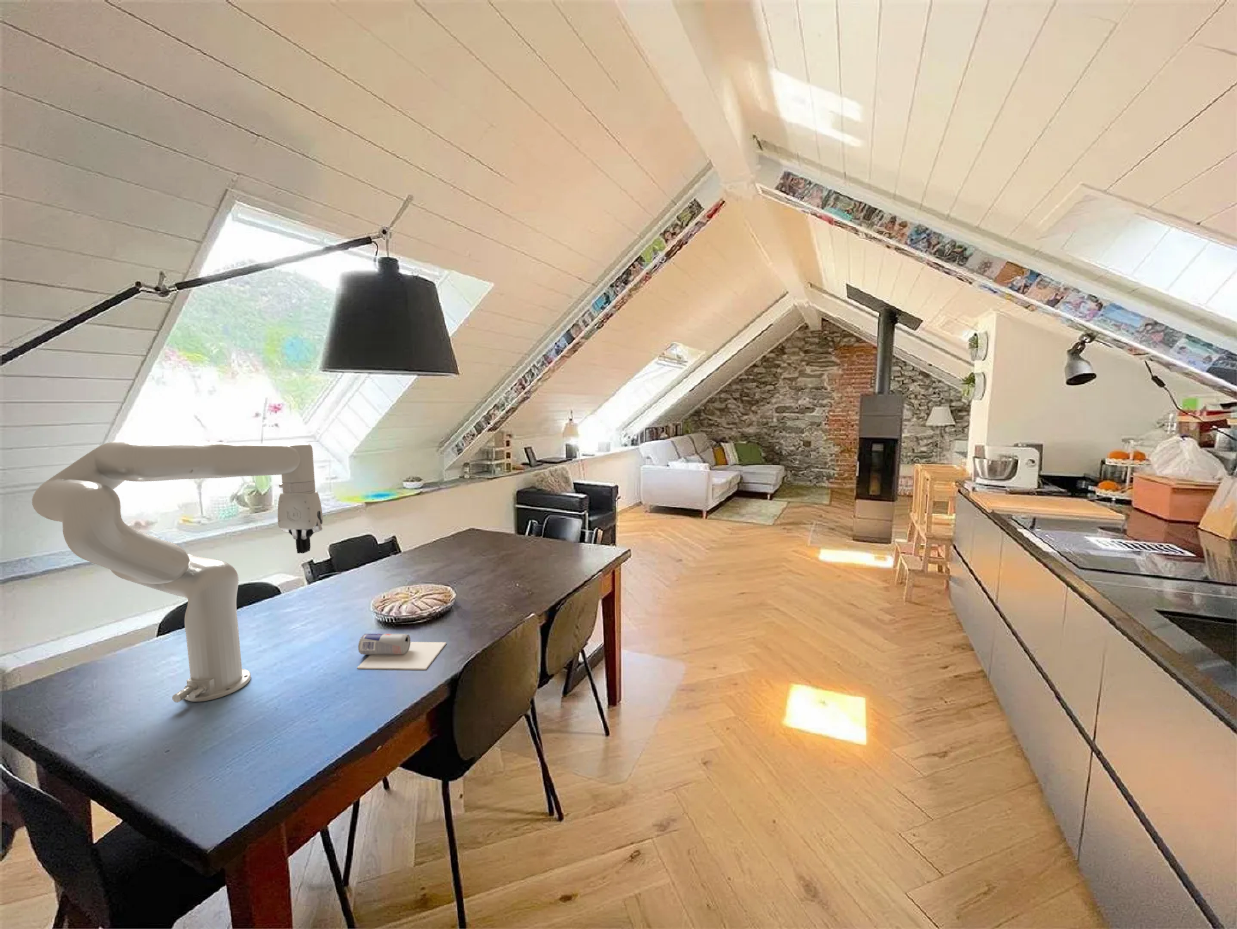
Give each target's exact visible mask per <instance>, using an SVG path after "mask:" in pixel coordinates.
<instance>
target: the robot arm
mask: <svg viewBox="0 0 1237 929" xmlns="http://www.w3.org/2000/svg"><path fill="white" fill-rule="evenodd" d="M313 450H314V449H313V446H312V445H311V444H310V443H308V442H289V443H284V444H275V443H274V444H270V443H269V444H268V443H258V444H234V443H224V442H217V441H216V442H215V441H146V440H145V441H141V440H140V441H136V440H112V441H108V442H105V443H103V444H101V445H99V446H97V447H96V448H94V449H92V450H91V451H89V452H87V453H86V454H85V455H83V456H82V457H80V458H78V459H77V460H76V461H74V462H73V463H72V464H70V465H68V466H67V467H65V468H64V469H62V470H61V471H59V472H57V473H56V474H55V475H53V476H52V477H50V478H49V479H48V480H46V481H45V482H43V483H42V484H41V485H40V486H39V487H38V488H37V489H36V490H35V491H34V493H33V496H32V499H31V504H32V507H33V509H34V510H35V512H36V513H37V514H38V515H39V516H41V517H42V518H44V519H45V518H46V519H48V520H50V521H54V522H61V523H62V535H63V539H64V540H65V543H66V545H67V546H68V549H70V551H71V552H73V554H74V555H75V556H77V557H78V558H81V559H82V560H84V561H87V562H90V563H92V564H95V565H97V566H100V567H103V568H105V569H108V570H110V571H111V573H113V575H115V576H116V577H118V578H120V579H123V580H126V581H129V582H132V583H135V584H137V585H141V586H144V587H147V588H150V589H154V590H156V591H160V592H164V593H167V594H170V595H173V596H178V597H182V598H186V599H187V607H186V610H185V613H184V632H185V636H186V638H185V639H186V648H187V656H188V666H189V667H188V668H189V675H190V678H188V679H187V680H186V685H185V686H184V687H183V689H181V690H179V691H178V692H177V693H174V694H173V695H172V701H173V702H174V703H179V702H181V701H183V700H185V701H189V702H192V703H193V702H196V703H197V702H206V701H212V700H216V699H219V698H222V697H225V696H226V697H227V696H228V695H230V694H232V693H235V692H237V691H239V690H240V689H242V688H243V687H244V686H246V685H247V684H248V683H249V682H250V681H251V678H252V677H251V672H250V670H248V669H246V668H245V669H243V666H242V665H243V664H242V655H241V646H240V645H241V644H240V633H239V621H238V613H237V612H238V611H237V610H238V609H237V598H238V597H237V596H238V591H239V590H238V588H239V581H240V580H239V575H238V572H237V570H236V568H235V567H233V565H231V564H230V563H228V562H226V561H223V560H220V559H216V558H209V557H204V556H203V557H202V556H199V555H194V554H191V553H187V551H186V550H185V549H183V548H182V547H181V546H180V545H178V544H176V543H173V542H171V541H168V540H164V539H161V538H158V537H155V536H153V535H150V534H147V533H145V532H143V531H140V530H139V529H136V528H134V527H131V526H129V525H128V524H126V523H125V521H124V520H123V517H122V514H121V510H122V509H121V507H122V506H121V500H120V497H119V495H118V494H117V492H116V491H115V490H114V489H116V488H117V487H118V486H120V485H121V484H122V483H123V482H125V481H126V482H128V481H129V482H141V483H142V482H143V483H144V482H159V481H176V480H177V481H178V480H196V479H224V478H237V477H258V476H259V477H262V476H281V483H279V485H278V487H279V488H280V489H282V492H281V493H279V496H278V497H279V498H278V503H277V524H278V525H277V526H278V528H279V529H281V531H282V532H284V533H288V534H290V535H291V536H292V538H293V539H294V540H295V547H296V553H297V554H305V553H308V552H310V551H311V538H312V537H313V535H314V534H315V533H318V532H322V531H323V527H322V524H323V522H324V521H323V520H324V517H323V516H324V515H323V509H322V504H321V503H322V502H321V499H320V496H319V493H318V491H316V481H315V480H316V479H315V466H314V452H313Z"/></svg>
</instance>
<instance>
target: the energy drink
mask: <svg viewBox="0 0 1237 929" xmlns="http://www.w3.org/2000/svg"><path fill="white" fill-rule="evenodd" d="M410 642H411V636H410V635H409V634H407V633H364V634H363V635H362V636H361V637H360V638H359V641H358V644H357V648H358V653H359V654H360V655H371V654H373V655H403V654H406V653H407V652H408V650H409V648H410Z"/></svg>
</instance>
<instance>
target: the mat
mask: <svg viewBox="0 0 1237 929" xmlns="http://www.w3.org/2000/svg"><path fill="white" fill-rule="evenodd" d="M446 644H447V642H446V641H445V642H444V641H436V642H435V641H431V642H430V641H410V648H409V650H408V652H407V653H406V654H403V655H373V654H369V655H368V656H367V657H366V658H365V659H364V660H363V661H362V662H361V663H360V664H359V665H358V666H357V667H356V669H357V670H359V669H360V670H405V671H407V670H412V671H413V670H414V671H415V670H417V671H426V670H427V669H428V668H429V666H430V665H431V664H432V663H433V661H434V660H435V659H436V657H437V656H438V655H439V654H440V652H441V651H442V650H443V648H444V647H445V646H446Z"/></svg>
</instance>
